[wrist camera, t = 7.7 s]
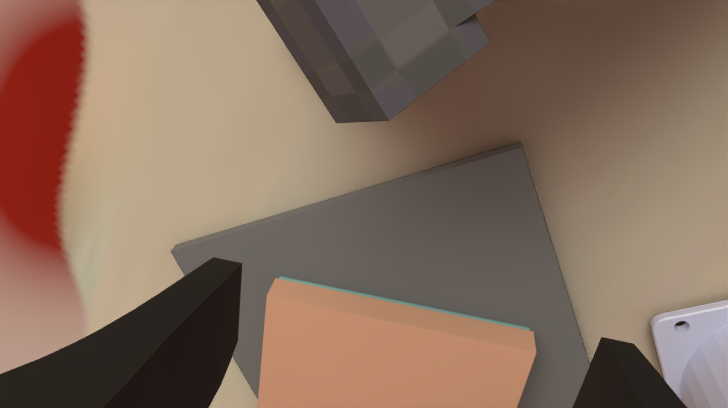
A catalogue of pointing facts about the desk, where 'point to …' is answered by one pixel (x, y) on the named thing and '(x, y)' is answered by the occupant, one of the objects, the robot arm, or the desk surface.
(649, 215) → the desk surface
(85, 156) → the desk surface
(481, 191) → the mat
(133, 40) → the desk surface
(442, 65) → the handgun
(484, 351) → the tile
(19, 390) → the robot arm
